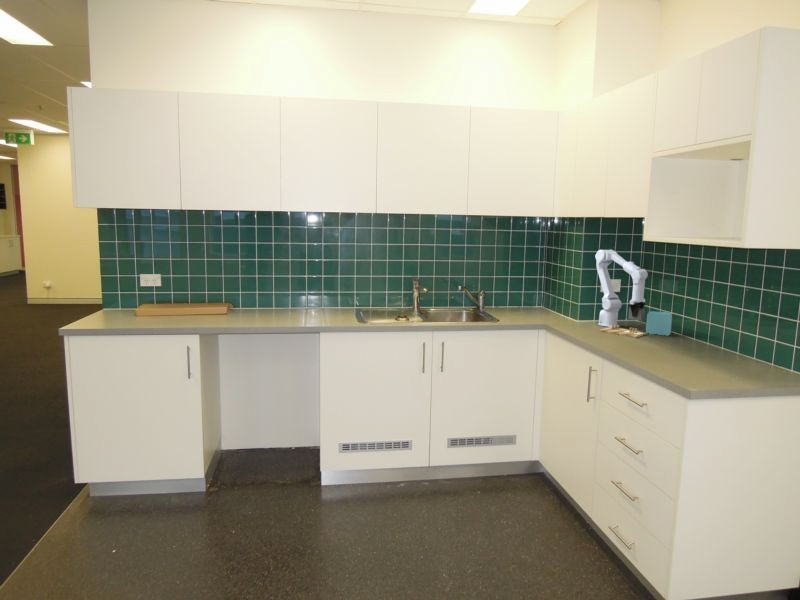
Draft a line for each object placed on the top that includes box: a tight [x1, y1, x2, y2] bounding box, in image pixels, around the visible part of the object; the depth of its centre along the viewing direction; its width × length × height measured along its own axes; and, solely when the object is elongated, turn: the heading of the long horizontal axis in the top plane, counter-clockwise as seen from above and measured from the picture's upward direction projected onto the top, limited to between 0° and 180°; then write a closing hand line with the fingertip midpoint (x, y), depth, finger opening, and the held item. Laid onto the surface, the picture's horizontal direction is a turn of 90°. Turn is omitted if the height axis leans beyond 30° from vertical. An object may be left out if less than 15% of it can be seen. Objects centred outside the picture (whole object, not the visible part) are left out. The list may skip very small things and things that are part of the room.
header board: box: [599, 324, 648, 338], centre depth 293 cm, size 20×13×3 cm, turn 42°
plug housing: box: [627, 307, 646, 321], centre depth 297 cm, size 7×4×6 cm, turn 43°
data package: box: [645, 310, 673, 337], centre depth 292 cm, size 12×4×12 cm, turn 66°
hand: (636, 316), depth 297 cm, fingers closed on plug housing, 4 cm apart
